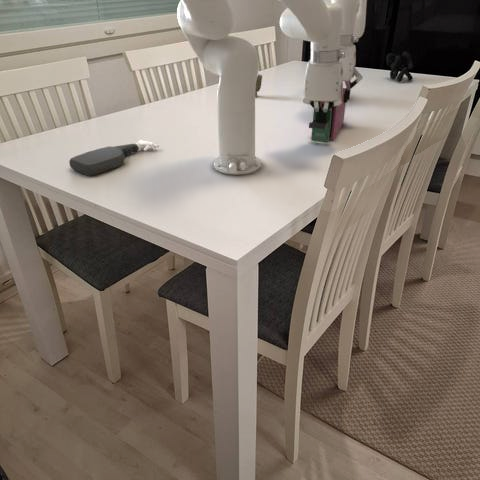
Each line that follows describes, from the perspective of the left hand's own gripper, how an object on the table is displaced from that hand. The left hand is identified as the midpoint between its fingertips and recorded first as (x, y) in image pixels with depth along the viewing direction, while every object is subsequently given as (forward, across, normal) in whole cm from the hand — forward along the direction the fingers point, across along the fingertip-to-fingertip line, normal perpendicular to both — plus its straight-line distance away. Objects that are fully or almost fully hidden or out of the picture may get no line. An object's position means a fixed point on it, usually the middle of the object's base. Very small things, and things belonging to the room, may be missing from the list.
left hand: (321, 124), depth 127 cm
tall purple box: (+7, 0, -16) cm, 17 cm away
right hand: (-1, 0, -21) cm, 21 cm away
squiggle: (+10, -16, -94) cm, 96 cm away
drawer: (+6, +1, -8) cm, 10 cm away
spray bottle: (+5, +51, +28) cm, 58 cm away
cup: (+7, +38, -48) cm, 62 cm away
